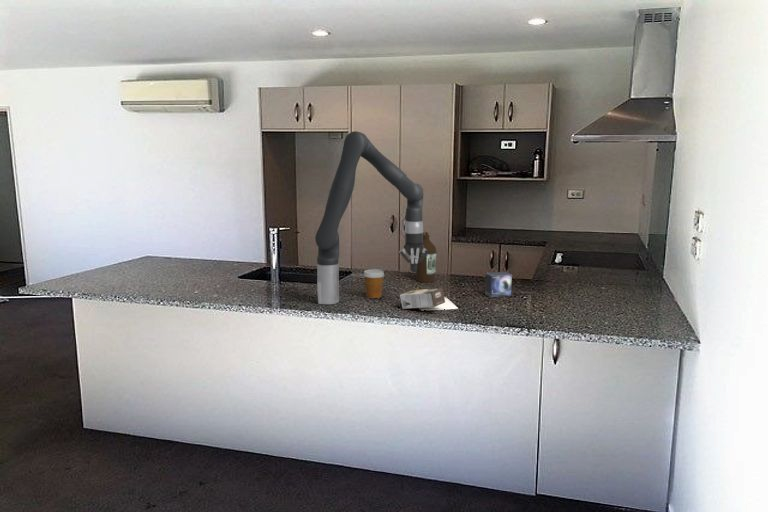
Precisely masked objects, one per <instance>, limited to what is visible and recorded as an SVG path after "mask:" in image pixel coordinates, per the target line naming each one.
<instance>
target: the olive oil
mask: <svg viewBox="0 0 768 512" xmlns="http://www.w3.org/2000/svg"><path fill="white" fill-rule="evenodd" d="M423 245H424V248H425V249H427V250H428V251H429V253H428V254H427V255H426V257H425V258H424V259H423V260H422V262H419V263H418V264H417V271H416V272H415V274H416V275H415V279H416V282H418V283H424V284H425V283H426V284H427V283H428V284H429V283H434V282H435V281H436V272H437V269H436V264H437V262H436V261H437V248H436V245H435V244H434V243H433V242H432V241H431V240H430V232H429V231H423ZM422 251H423V250H422ZM421 255H422V252H421V253H420V254H419V257H420V256H421ZM418 259H419V258H418Z"/></svg>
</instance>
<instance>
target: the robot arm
mask: <svg viewBox="0 0 768 512" xmlns="http://www.w3.org/2000/svg"><path fill="white" fill-rule="evenodd" d="M361 158H363V159H364V160H366V161H367V162H368V163H370V165H372V166H373V168H375V170H376V171H377V172H378V173H379V174H380V175H381V176H382V177H383V178H384V180H386V181H388V182H389V183H390V184H391V185H392V186H394V188H396V189H397V190H398V192H399V193H400V194H401V195H402V196H403V197H404V198H405V199H406V209H405V225H404V246H403V248H402V249H401V250H399V251H398V253H399V255H401V256H402V258H403V259H404V260H405V262H407V263H409V270H410V272H411V273H416V271H417V264H418V263H419V262H422V260H423V259H424V258H425V257H426V255H427V254H428V253H429V251H428V250H427V249H425V248H424V245H423V232H424V224H423V202H424V188H423V187H422V186H421V185H420V184H419V183H415V182H414V181H412V179H410V178H409V177H408V176H407V174H406V173H405V172H404V170H402V169H401V168H400V167H399V166H398V165H396V164H395V163H394V162H392V161H391V160H390V159H388V158H387V156H385V155H384V154H383V153H382V152H381V151H380V150H378V149H377V148H376V146H375V145H374V144H373V143H372V142H371V141H370V139H369V138H368V137H367V135H366V134H364V133H363V132H360V131H351V132H349V133H348V134H347V135H346V136H345V139H344V141H343V146H342V151H341V157H340V160H339V164H338V167H337V168H336V170H335V175H334V178H333V180H332V183H331V186H330V189H329V194H328V197H327V200H326V205H325V209H324V213H323V217H322V219H321V222H320V225H319V227H318V229H317V231H316V233H315V238H314V241H315V244H316V246H317V247H318V252H317V256H316V264H317V265H316V268H317V270H316V271H317V272H316V274H317V279H316V282H317V283H316V284H317V285H316V286H317V290H316V291H317V303H318V305H334V304H338V303H339V302H340V283H339V281H340V276H339V275H340V274H339V273H340V269H339V258H340V235H339V231H338V230H339V226H340V223H341V220H342V217H343V216H344V213H345V212H346V210H347V208H348V207H349V206H348V205H349V203H350V202H351V198H352V195H353V191H354V190H355V189H354V188H355V183H356V182H355V181H356V171H357V167H358V163H359V161H360V159H361ZM422 250H423V251H422ZM421 252H422V255H421V256H420V257H419V254H420V253H421ZM406 253H407V254H408V256H409V258H408V256H407V255H406ZM418 258H419V259H418Z"/></svg>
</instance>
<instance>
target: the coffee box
mask: <svg viewBox="0 0 768 512" xmlns="http://www.w3.org/2000/svg"><path fill="white" fill-rule="evenodd" d="M399 297H400V302H401V308H402V309H404V310H405V309H419V308H425V307H436V306H438V305H440V304H443V303H445V298H444V297H445V294H444V290H443V287H439V288H438V287H437V288H436V287H435V288H425V289H424V288H423V289H413V290H409V291H406V292H404V293H401V294H400V295H399Z"/></svg>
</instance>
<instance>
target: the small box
mask: <svg viewBox="0 0 768 512" xmlns="http://www.w3.org/2000/svg"><path fill="white" fill-rule="evenodd" d="M512 279H513V274H511V273H510V272H508V271H497V272H496V271H494V272H485V284H484V295H485V296H486V297H488V298H491V299H493V297H496V298H507V297H506V296H511V297H512V284H513V283H512V281H513V280H512Z"/></svg>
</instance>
